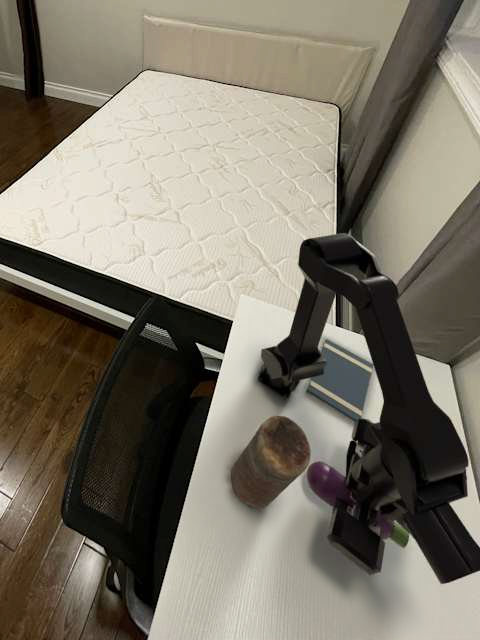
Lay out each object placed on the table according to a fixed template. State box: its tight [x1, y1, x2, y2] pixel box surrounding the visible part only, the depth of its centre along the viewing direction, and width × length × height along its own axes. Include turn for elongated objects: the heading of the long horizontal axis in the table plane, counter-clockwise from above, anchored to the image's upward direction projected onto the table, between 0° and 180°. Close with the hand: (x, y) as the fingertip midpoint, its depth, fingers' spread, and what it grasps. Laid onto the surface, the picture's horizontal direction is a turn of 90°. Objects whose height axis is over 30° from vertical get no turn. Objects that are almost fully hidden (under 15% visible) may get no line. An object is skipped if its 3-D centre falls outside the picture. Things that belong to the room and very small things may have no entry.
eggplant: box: [306, 461, 410, 549], centre depth 59 cm, size 15×5×5 cm, turn 54°
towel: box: [306, 338, 374, 422], centre depth 77 cm, size 10×14×1 cm
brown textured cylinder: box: [230, 415, 311, 509], centre depth 57 cm, size 8×7×20 cm
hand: (345, 500), depth 60 cm, fingers closed on eggplant, 5 cm apart
